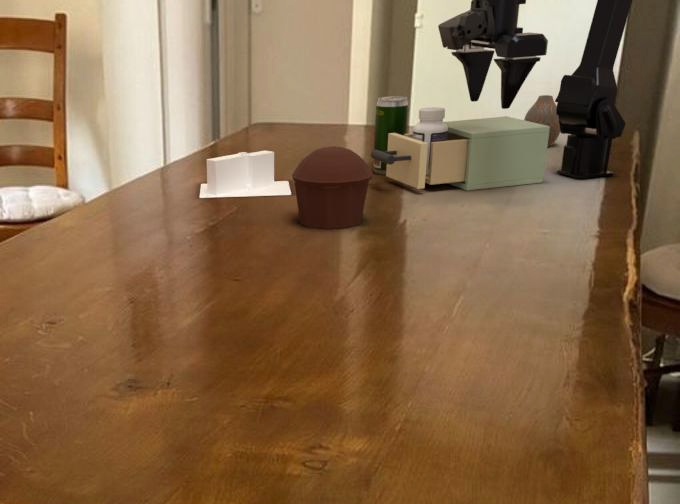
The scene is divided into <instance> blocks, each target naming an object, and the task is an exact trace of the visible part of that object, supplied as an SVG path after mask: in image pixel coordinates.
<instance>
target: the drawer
mask: <svg viewBox="0 0 680 504" xmlns="http://www.w3.org/2000/svg"><path fill="white" fill-rule="evenodd" d="M468 145H469V138H467V137H463V136H460V135H456V134H453V133H449V132H448V137H447V141H440V142H431V152H430V166H429V175H426V162H427V148H428V143H426V142H422V141H419V140H416V139H413V132H410V133H407V134H404V136H403V135H400V134H397V133H389V134H388V150H387V151H385V152H381V151H379V150H374V149H372V150H371V152H370V157H371V158H372V159H373V160H374V159H376V160H379V161H381V162H384V163H387V168H386V175H385V177H388V178H389V179H391V180H394V181H397V182H399V183H402V184H404V185H407V186H409V187H412V188H415V189H416V190H421V189H425V188H426V187H425V186H426V184H428V185H430V186H432V185H433V186H434V185H440V184H442V185H443V184H448V183H452V182H462V181H465V178H466V167H467V156H468Z"/></svg>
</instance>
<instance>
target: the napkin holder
mask: <svg viewBox="0 0 680 504" xmlns="http://www.w3.org/2000/svg"><path fill="white" fill-rule="evenodd" d="M198 196H199V199H206V198H207V199H211V198H238V197H240V198H241V197H243V198H244V197H264V196H265V197H269V196H270V197H271V196H274V197H275V196H292V192H291V186H290V183H289V180H276V181H275V151H270V150H260V151H254V152H247V151H242V152H241V151H240V152H238V153H234V154H229V155H222V156H218V157H213V158H207V159H206V183H201V184H200V190H199V195H198Z"/></svg>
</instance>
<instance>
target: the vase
mask: <svg viewBox="0 0 680 504" xmlns="http://www.w3.org/2000/svg"><path fill="white" fill-rule="evenodd" d="M556 108H557V103H556V102H555V99H554V96H553V95H550V94H549V95H548V94H541V95H539V96H538V97H537V99H536V101H535V102H534V103H533V104H532V105H531V107H530V108H529V109H528V110H527V112H526V114H525V116H524V119H523V120H525V121H529V122H533V123H537V124H542V125H546V126H550V129H549V138H548V146H547V148H548V147H551V146H553V144H555V142H556V141H557V140H558V138H559V135H560V134H561V132H560V125H559V118H558V115H557V114H556Z"/></svg>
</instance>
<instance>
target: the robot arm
mask: <svg viewBox="0 0 680 504" xmlns="http://www.w3.org/2000/svg"><path fill="white" fill-rule="evenodd" d="M632 3H633V0H596V4H595V8H594V12H593V14H592V15H593V16H592V19H591V22H590V27H589V31H588V34H587V38H586V42H585V45H584V49H583V51H582V52H583V53H582V55H581V60H580V62H579V65H578V67H577V68H576V69H575V70H574V71H573V73H572V74H564V75H563V76H562V78H561V80H560V86H559V91H558V95H557V96H556V98H555V99H554V102H555V103H556V106H557V108H556V114H557V115H558V118H559V125H560V134H563V135H565V134H567V138H566V144H565V145H564V146H563V153H562V160H561V168H558V169H556V173H558V174H562V175H564V176H568V177H571V178H575V179H583V180H584V179H592V178H600V177H610V176H614V172H613V171H611V170H608V169H609V168H608V167H609V164H610V163H609V161H610V156H611V149H612V144H613V140H614V139H616V138H621V137H622V135H623V132H624V130H625V127H626V121H625V120H624V118H623V116H622V115H621V113H620V112H619V110H618V108H617V106H616V101H617V95H618V85H617V81H616V77H615V73H614V67H615V64H616V60H617V57H618V56H617V55H618V53H619V49H620V46H621V41H622V38H623V36H624V32H625V28H626V24H627V21H628V17H629V14H630V10H631V7H632ZM526 4H527V0H471V2H470V9H469V10H466V11H464V12H462V13H460V14H457V15H455V16H453V17H451V18H449V19H447V20H445V21H443V22H441V23H439V24H438V25H437V28H438V32H439V36H440V41H441V45H442V48H444V49H447V50H452V51H450V52H451V55H452V56H453V57H454V58H456V59H457V60H458V61H459V63H461V64H462V67H463V71H464V75H465V81H466V85H467V90H468V94H469V95H468V96H469V100H470V101H471V102H472V103H473V102H474V103H475V102H478V101H479V99H480V97H481V94H482V92H483V88H484V87H485V86H484V85H485V82H486V79H487V76H488V73H489V70H490V67H491V64H492V61H494V63H495V64H496V66H497V67H498V68H499V69H500V105H501V109H503V110H505V109H506V110H508V109H510V107H511V106H512V104H513V103H514V100H515V98H516V97H517V95H518V93H519V91H520V90H521V88H522V86H523V84H524V83H525V81H526V79H527V78H528V76H529V74H530V73H531V72H532V70H533V68H534V67H535V65H536V64H537V63H538V62H541V56H546V55H547V52H548V44H549V40H548V38H547V37H546V36H545V34H543V33H538V32H524V27H521V26H520V27H519V26H518V24H519V23H518V22H519V12H520V5H526ZM494 54H496V57H498V58H494Z"/></svg>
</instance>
